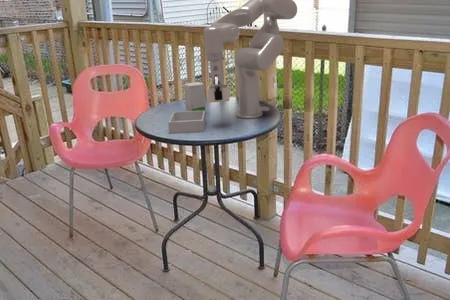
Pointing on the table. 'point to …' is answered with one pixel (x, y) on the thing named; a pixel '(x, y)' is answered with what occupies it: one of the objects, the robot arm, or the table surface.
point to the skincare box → (195, 96)
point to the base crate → (187, 122)
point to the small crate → (224, 93)
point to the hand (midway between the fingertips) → (219, 97)
